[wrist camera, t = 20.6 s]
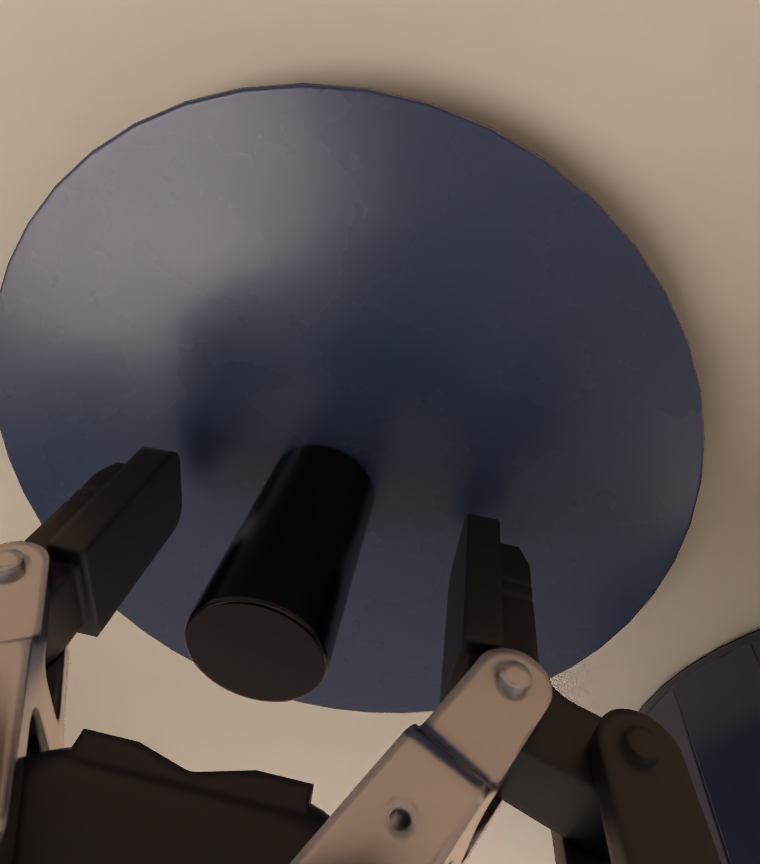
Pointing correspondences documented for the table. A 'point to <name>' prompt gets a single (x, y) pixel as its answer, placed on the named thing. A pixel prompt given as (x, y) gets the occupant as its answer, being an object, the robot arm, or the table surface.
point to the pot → (720, 741)
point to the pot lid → (351, 383)
